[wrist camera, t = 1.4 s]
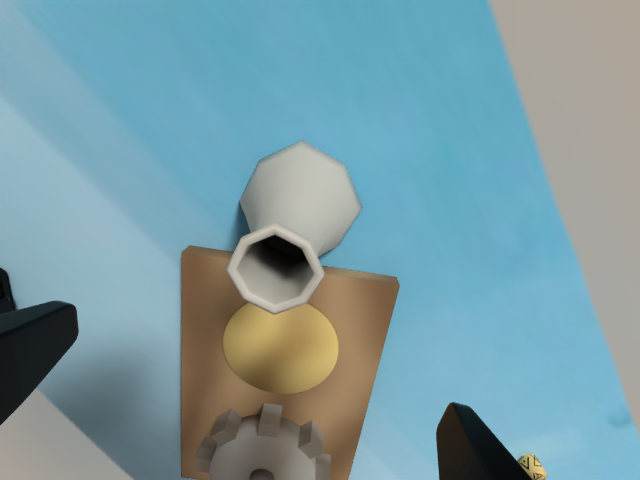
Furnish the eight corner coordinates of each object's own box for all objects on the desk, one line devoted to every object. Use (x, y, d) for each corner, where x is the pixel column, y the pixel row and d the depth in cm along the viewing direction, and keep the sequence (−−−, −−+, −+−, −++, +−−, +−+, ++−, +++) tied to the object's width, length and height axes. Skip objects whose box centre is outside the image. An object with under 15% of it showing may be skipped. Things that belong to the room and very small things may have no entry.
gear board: (187, 467, 29) (164, 522, 25) (189, 245, 22) (157, 273, 18) (341, 489, 29) (342, 547, 25) (396, 277, 22) (410, 311, 18)
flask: (298, 276, 22) (273, 390, 13) (220, 198, 20) (125, 263, 11) (382, 208, 20) (425, 282, 11) (304, 116, 19) (274, 110, 9)
